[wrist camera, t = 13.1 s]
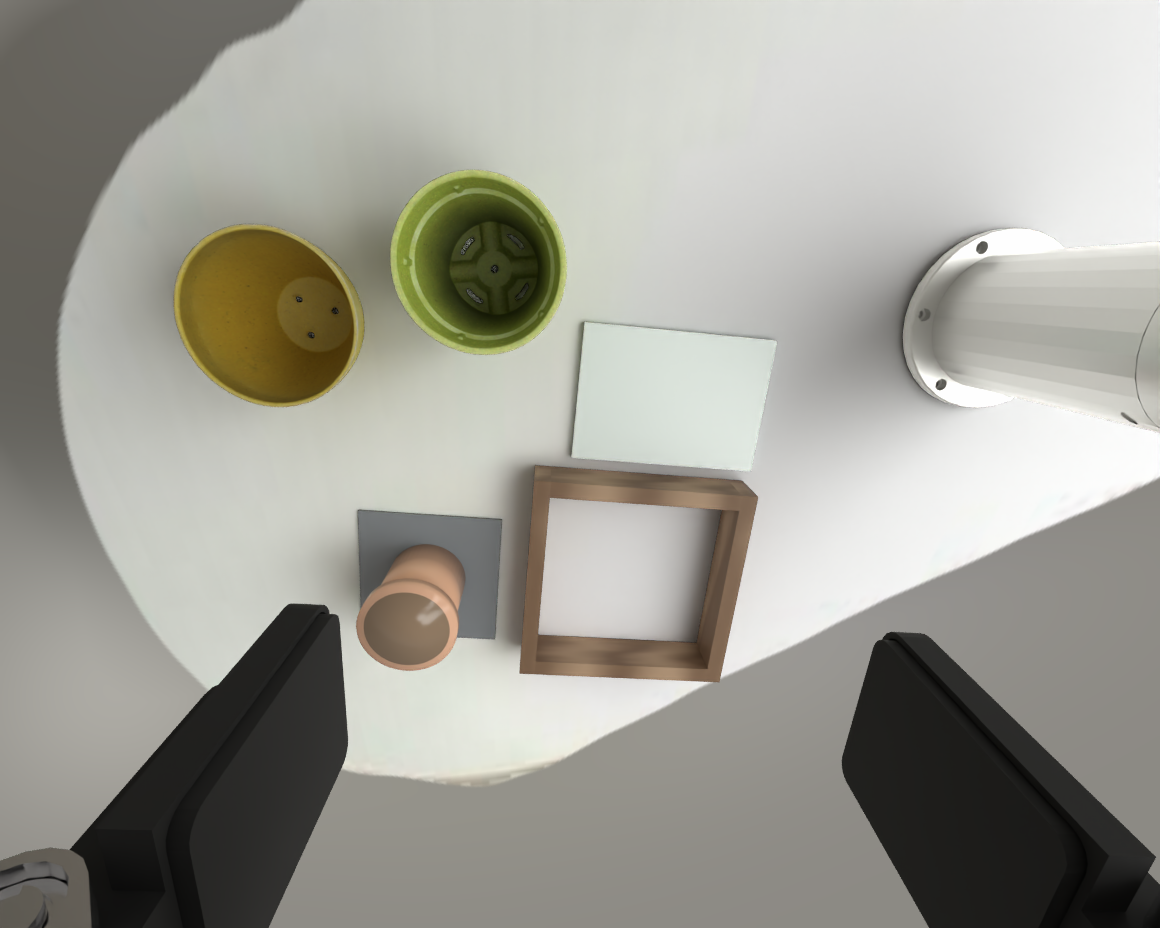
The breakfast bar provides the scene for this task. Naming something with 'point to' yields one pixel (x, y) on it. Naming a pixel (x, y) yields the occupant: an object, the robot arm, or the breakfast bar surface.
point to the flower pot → (267, 315)
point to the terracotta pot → (414, 609)
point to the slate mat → (456, 534)
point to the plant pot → (478, 262)
